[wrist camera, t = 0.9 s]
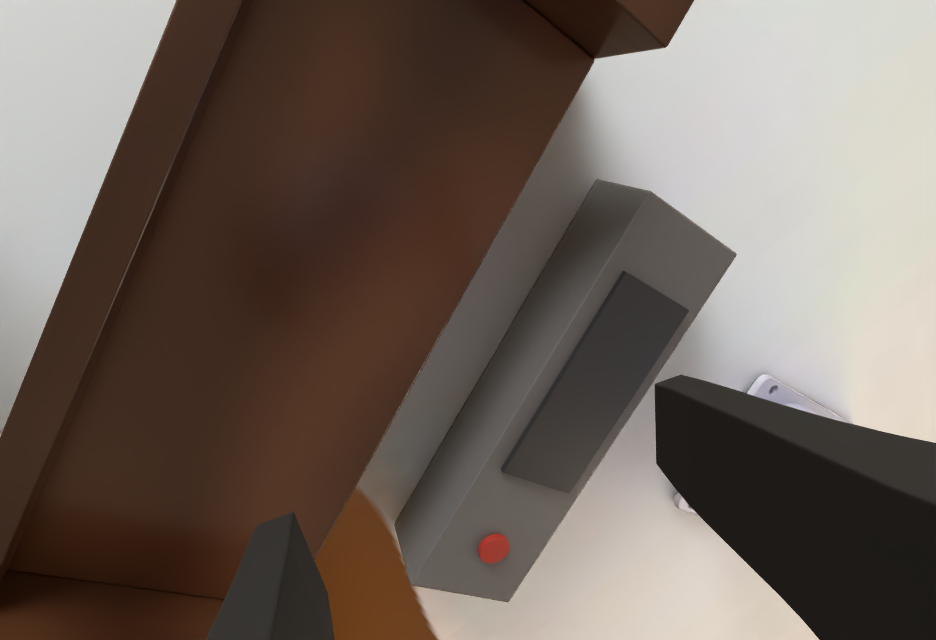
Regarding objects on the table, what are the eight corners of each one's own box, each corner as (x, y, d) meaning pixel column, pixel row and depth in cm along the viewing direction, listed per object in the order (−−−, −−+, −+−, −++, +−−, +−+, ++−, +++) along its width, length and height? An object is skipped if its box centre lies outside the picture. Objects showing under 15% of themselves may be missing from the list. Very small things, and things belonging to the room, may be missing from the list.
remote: (677, 234, 21) (743, 255, 18) (482, 544, 24) (510, 608, 21) (596, 178, 19) (655, 191, 16) (393, 524, 22) (411, 591, 19)
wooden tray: (567, 31, 17) (697, -3, 12) (274, 568, 21) (271, 725, 16) (300, -193, 13) (311, -402, 8) (0, 522, 17) (-129, 712, 12)
